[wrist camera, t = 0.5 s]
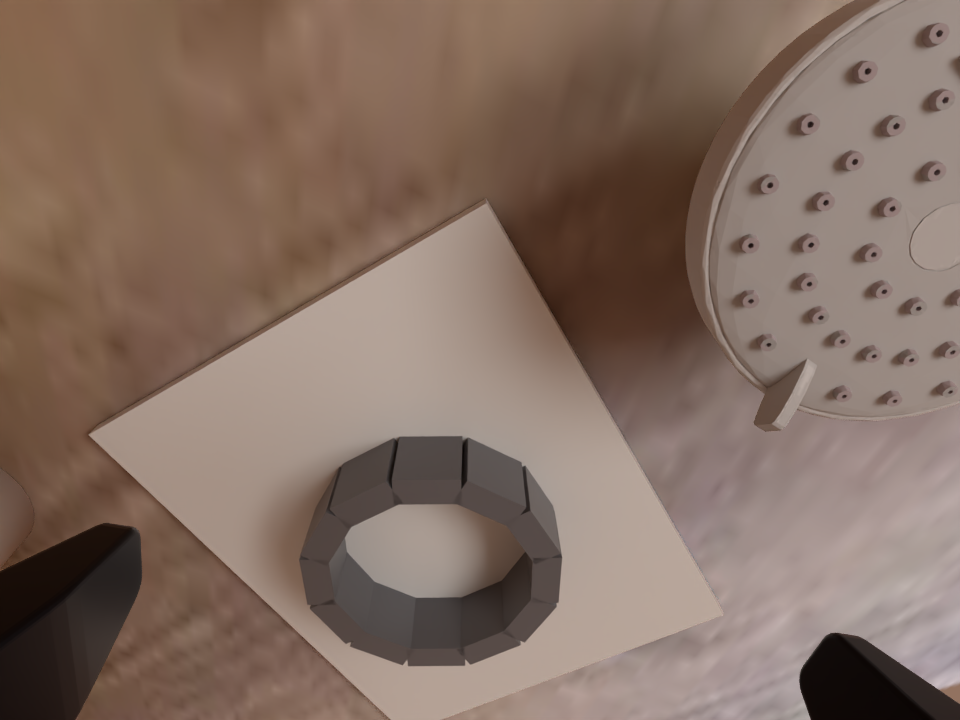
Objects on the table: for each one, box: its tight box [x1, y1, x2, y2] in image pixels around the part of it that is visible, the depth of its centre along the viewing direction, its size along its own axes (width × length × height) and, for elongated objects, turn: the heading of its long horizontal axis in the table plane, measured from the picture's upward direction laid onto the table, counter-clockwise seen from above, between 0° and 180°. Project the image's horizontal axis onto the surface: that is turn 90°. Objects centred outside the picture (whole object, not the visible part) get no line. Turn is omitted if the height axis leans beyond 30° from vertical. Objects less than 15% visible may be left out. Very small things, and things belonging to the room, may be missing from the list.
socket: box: [89, 198, 724, 720], centre depth 23 cm, size 20×16×3 cm
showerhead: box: [685, 0, 960, 432], centre depth 15 cm, size 9×7×10 cm
